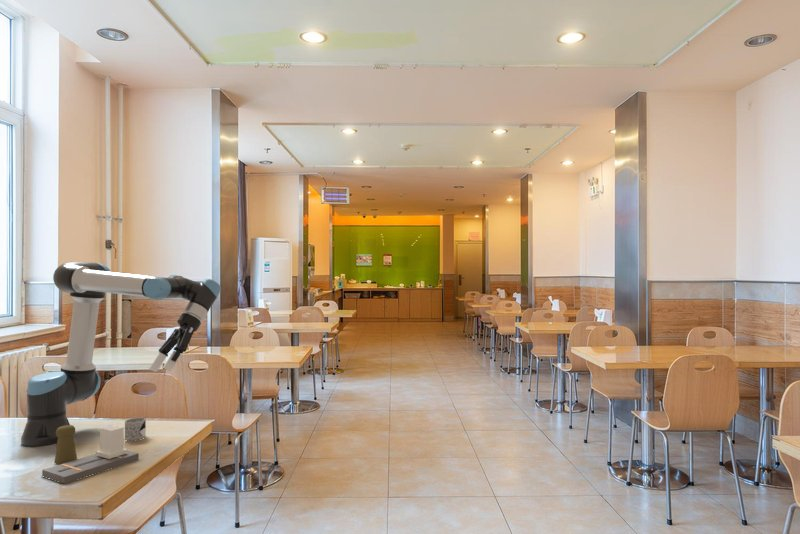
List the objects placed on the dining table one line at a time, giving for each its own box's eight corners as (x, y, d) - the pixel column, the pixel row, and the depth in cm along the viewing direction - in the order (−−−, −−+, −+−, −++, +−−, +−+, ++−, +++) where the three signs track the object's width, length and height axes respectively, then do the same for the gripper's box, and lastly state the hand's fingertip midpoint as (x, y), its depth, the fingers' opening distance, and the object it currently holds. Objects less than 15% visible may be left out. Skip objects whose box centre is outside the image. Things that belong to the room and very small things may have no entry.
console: (116, 453, 168) (116, 447, 169) (138, 459, 162) (138, 452, 163) (42, 476, 149) (42, 469, 149) (64, 484, 143) (64, 476, 143)
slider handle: (114, 449, 166) (114, 424, 166) (127, 453, 162) (127, 426, 162) (95, 455, 160) (95, 428, 161) (108, 458, 157) (108, 431, 157)
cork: (81, 458, 164) (81, 424, 165) (63, 465, 159) (63, 429, 159) (67, 456, 166) (67, 422, 167) (49, 463, 161) (49, 427, 161)
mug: (144, 440, 183) (144, 421, 183) (123, 442, 181) (123, 423, 181) (147, 432, 193) (147, 414, 193) (127, 434, 190) (127, 416, 190)
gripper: (215, 319, 180) (182, 374, 170) (187, 325, 198) (156, 375, 187) (197, 308, 177) (162, 363, 166) (170, 315, 194) (138, 366, 184)
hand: (159, 370), depth 177 cm, fingers open, 13 cm apart
